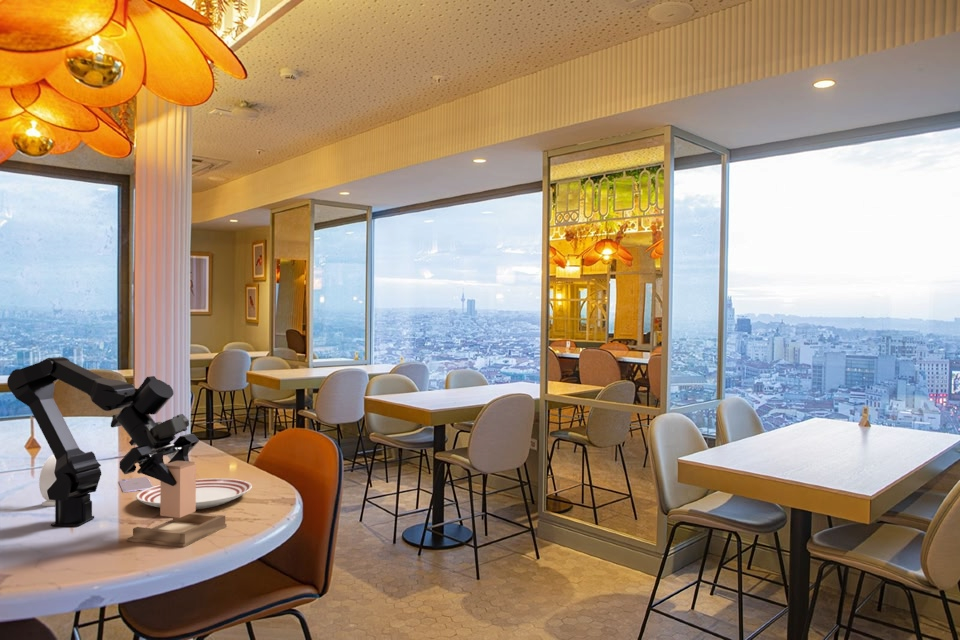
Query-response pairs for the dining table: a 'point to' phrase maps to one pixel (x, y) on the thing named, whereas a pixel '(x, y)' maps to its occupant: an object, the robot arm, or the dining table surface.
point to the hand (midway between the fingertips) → (183, 481)
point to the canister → (179, 490)
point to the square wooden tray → (180, 530)
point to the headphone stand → (47, 479)
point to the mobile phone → (135, 484)
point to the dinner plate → (203, 492)
